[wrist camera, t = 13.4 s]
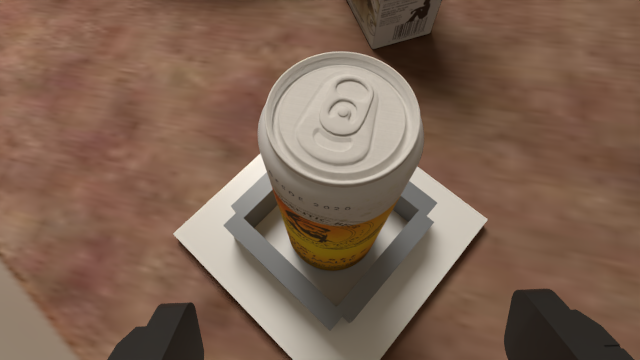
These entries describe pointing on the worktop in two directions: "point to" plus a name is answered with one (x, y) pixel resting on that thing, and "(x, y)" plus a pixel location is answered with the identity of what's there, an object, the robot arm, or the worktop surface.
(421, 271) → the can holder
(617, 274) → the worktop surface
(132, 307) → the worktop surface
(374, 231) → the beer can
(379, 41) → the coffee box
